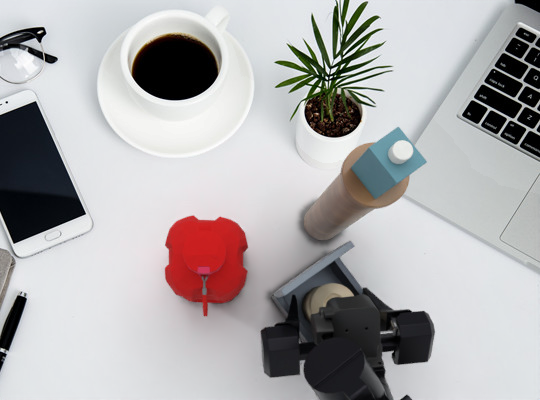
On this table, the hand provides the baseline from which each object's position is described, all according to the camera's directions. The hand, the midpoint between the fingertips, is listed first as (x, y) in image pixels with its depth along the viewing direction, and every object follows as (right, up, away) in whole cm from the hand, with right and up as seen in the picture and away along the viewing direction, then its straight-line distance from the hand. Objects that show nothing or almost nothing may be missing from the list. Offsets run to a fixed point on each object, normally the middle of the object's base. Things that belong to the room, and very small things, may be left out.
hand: (328, 293), depth 76 cm
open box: (0, -3, +7) cm, 8 cm away
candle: (+1, -3, +7) cm, 7 cm away
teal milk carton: (0, +14, -20) cm, 25 cm away
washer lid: (-3, +3, -3) cm, 5 cm away
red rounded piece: (-15, +1, +9) cm, 17 cm away
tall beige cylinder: (+1, +8, +9) cm, 13 cm away
